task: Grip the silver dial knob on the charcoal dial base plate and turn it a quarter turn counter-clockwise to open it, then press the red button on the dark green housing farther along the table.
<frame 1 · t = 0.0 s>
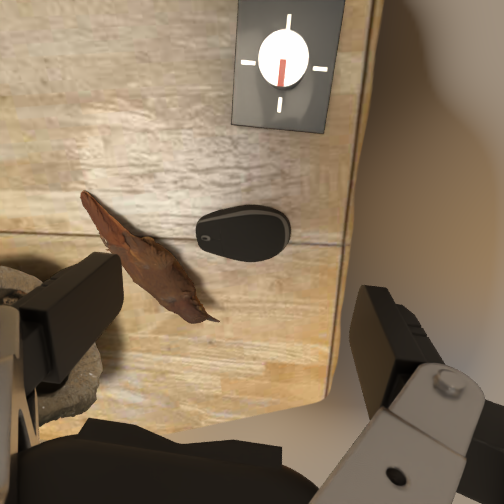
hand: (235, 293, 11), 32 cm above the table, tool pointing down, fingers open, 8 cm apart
computer mouse: (243, 230, 44), on the table
silver dial knob: (283, 62, 31), point 6 cm above the table, hinge at 0.0°
bird sculpture: (155, 254, 47), on the table
dial base plate: (284, 69, 37), on the table
stone bowl: (47, 321, 54), on the table
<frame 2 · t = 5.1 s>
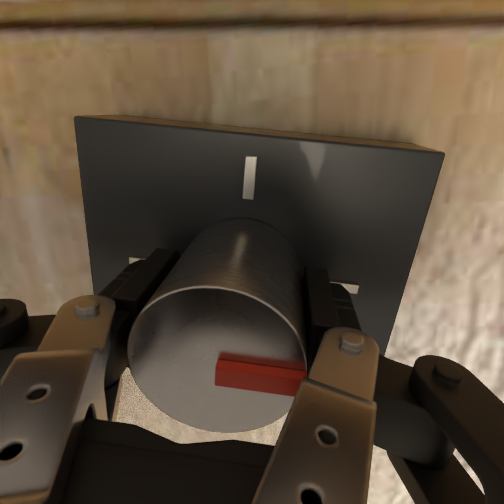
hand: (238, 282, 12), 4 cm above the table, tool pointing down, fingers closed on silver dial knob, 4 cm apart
silver dial knob: (230, 313, 10), point 6 cm above the table, hinge at 0.0°, touching gripper
dial base plate: (250, 244, 15), on the table
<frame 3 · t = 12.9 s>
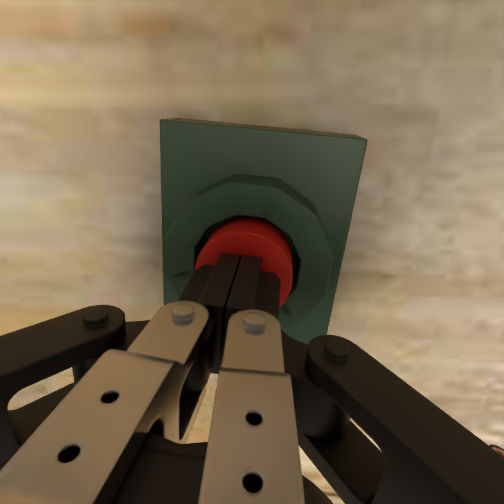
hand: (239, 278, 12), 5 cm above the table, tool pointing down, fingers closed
button box: (255, 232, 17), on the table
red button: (245, 267, 13), point 4 cm above the table, slide at -0.3 cm, touching gripper
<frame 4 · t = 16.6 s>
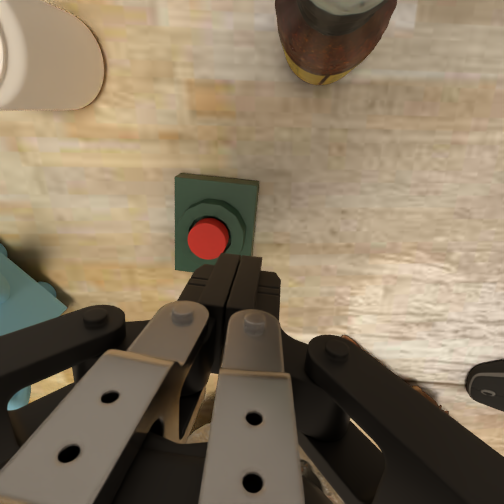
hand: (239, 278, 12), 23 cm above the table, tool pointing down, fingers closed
button box: (217, 223, 36), on the table
sauce bottle: (318, 46, 29), on the table
beverage can: (66, 63, 32), on the table
stone bowl: (254, 449, 49), on the table
red button: (208, 238, 32), point 4 cm above the table, slide at 0.1 cm
teakettle: (0, 282, 42), on the table
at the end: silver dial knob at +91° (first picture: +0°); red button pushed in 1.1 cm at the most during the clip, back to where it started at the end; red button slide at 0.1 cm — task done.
